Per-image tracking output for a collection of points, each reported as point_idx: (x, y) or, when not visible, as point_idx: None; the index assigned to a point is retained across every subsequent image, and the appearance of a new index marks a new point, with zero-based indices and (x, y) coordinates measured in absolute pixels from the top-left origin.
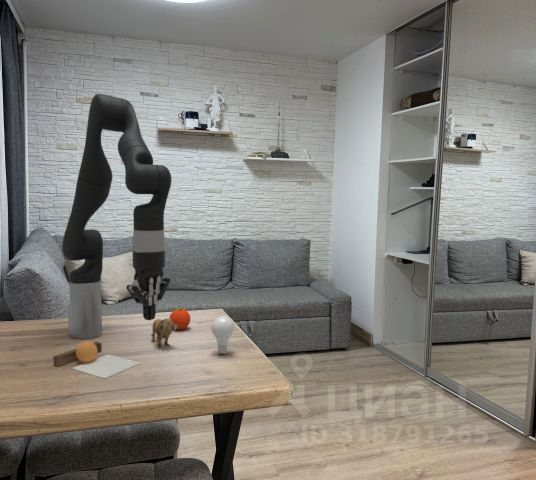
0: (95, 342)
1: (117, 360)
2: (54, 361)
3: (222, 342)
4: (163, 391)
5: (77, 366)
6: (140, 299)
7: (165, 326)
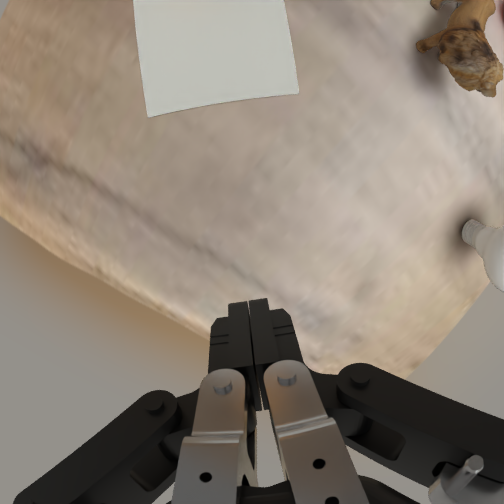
0: None
1: (262, 22)
2: None
3: (478, 253)
4: (213, 296)
5: None
6: (136, 470)
7: (467, 73)
